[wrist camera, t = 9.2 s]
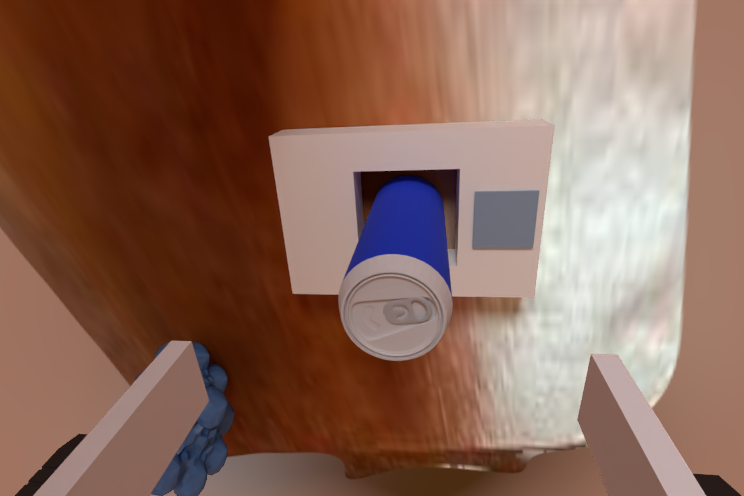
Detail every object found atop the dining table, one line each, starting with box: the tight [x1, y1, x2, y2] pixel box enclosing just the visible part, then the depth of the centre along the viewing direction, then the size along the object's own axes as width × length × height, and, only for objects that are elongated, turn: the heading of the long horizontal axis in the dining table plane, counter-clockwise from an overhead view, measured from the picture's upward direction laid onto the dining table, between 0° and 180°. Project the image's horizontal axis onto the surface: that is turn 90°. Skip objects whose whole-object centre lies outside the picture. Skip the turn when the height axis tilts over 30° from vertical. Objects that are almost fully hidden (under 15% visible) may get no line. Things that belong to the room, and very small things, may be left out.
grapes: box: [135, 342, 235, 496], centre depth 35 cm, size 12×7×12 cm, turn 24°
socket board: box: [268, 119, 555, 298], centre depth 30 cm, size 12×18×3 cm, turn 93°
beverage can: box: [338, 175, 453, 361], centre depth 25 cm, size 5×5×15 cm
